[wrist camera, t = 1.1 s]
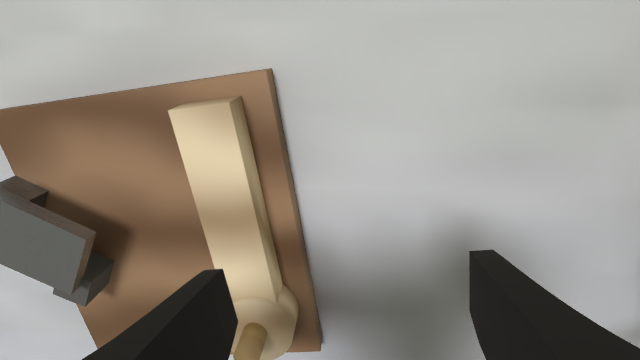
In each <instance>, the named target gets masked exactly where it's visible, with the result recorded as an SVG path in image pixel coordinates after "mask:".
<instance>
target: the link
mask: <svg viewBox="0 0 640 360" xmlns="http://www.w3.org/2000/svg"><path fill="white" fill-rule="evenodd" d="M168 113H169V116H170V119H171V123H172V126H173V130H174V133H175V136H176V140H177V143H178V146H179V150H180V153H181V156H182V160H183V163H184V167H185V170H186V173H187V177H188V180H189V183H190V187H191V190H192V193H193V197H194V200H195V204H196V207H197V210H198V214H199V217H200V220H201V224H202V227H203V230H204V234H205V237H206V241H207V244H208V247H209V251H210V254H211V257H212V261H213V264H214V267H215V269H223V271H224V274H225V278H226V281H227V285H228V288H229V291H230V295H231V298H232V301H233V305H234V308H235V312H236V315H237V318H238V325H237V329H236V333H235V338H234V341H233V345H232V349H231V351H232V352H234V355H233V357H234V360H272V359H276V358H278V357H280V356H282V355H283V354H284V353H285V352H287V350H288V349H289V348H290V346H291V344H292V340H293V335H294V331H295V326H296V322H297V317H298V312H299V306H298V302H297V299H296V297H295V295H294V294H293V292H292V291H291V290H290V289H289V288H288V287H287V286H285V285H284V284H283V283H282V279H281V274H280V270H279V265H278V261H277V256H276V252H275V247H274V243H273V238H272V234H271V229H270V225H269V220H268V216H267V211H266V207H265V202H264V198H263V193H262V189H261V185H260V180H259V176H258V171H257V167H256V162H255V158H254V153H253V149H252V144H251V140H250V135H249V131H248V126H247V122H246V117H245V113H244V108H243V104H242V99H241V96H235V97H228V98H221V99H214V100H207V101H200V102H193V103H186V104H183V105H180V106H178V107H175V108H173V109H170V110H168Z"/></svg>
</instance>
